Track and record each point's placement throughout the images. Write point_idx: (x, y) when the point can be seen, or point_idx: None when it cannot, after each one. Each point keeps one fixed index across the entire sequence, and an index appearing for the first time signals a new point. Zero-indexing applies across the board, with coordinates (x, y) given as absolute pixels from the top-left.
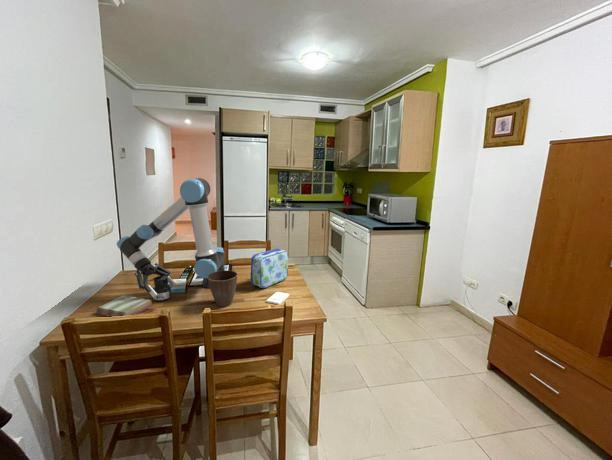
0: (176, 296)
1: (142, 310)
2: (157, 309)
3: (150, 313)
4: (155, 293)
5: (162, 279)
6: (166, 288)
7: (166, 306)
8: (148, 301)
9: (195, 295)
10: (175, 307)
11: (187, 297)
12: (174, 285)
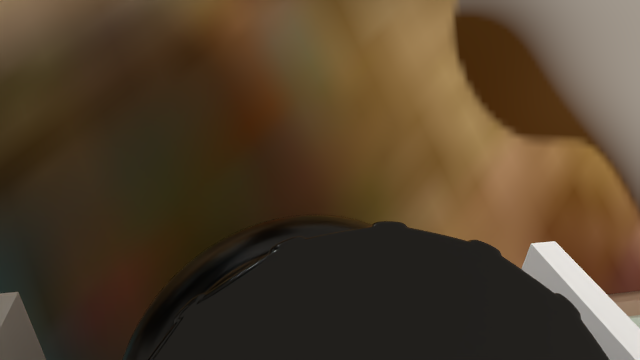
0: (153, 230)
1: (627, 293)
2: (519, 166)
3: (605, 163)
4: (566, 259)
5: (488, 276)
6: (339, 224)
7: (427, 128)
8: None
9: (31, 7)
10: (399, 21)
11: (127, 65)
12: (24, 316)
